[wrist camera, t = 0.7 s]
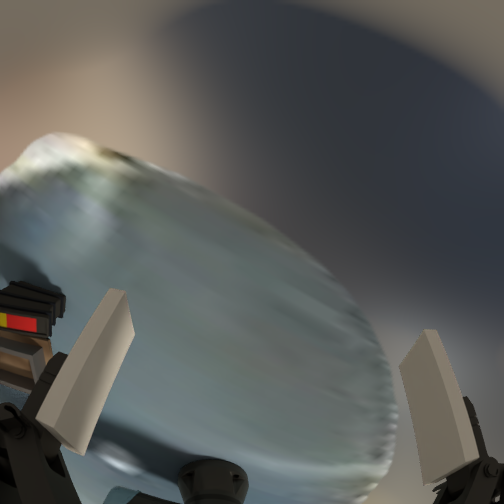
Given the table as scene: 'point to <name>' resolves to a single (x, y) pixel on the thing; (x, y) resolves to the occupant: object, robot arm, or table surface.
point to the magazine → (29, 309)
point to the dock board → (22, 364)
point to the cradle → (27, 352)
